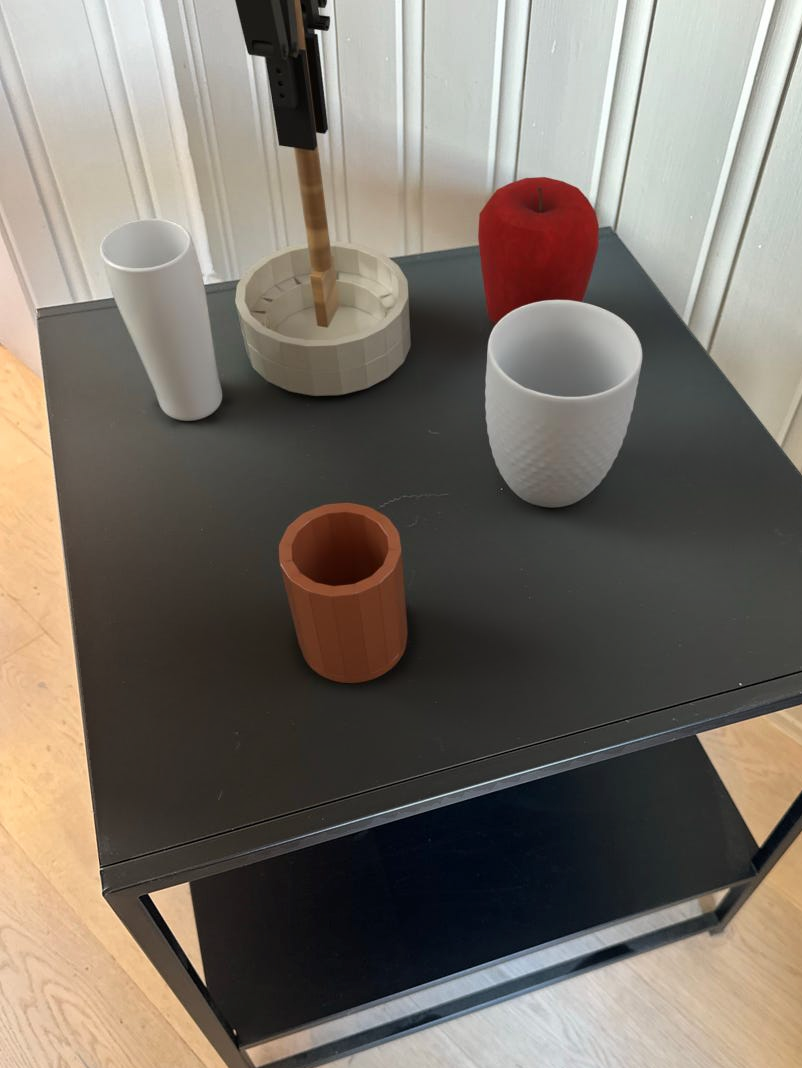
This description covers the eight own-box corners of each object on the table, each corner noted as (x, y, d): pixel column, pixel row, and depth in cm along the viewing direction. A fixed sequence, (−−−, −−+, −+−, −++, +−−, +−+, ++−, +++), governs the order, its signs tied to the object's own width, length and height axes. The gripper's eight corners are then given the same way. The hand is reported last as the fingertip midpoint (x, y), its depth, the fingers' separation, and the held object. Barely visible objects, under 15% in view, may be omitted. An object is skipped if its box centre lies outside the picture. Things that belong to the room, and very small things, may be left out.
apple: (570, 373, 85) (587, 232, 73) (461, 348, 86) (462, 207, 75) (598, 304, 90) (618, 164, 79) (496, 282, 92) (501, 142, 81)
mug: (457, 412, 81) (458, 277, 71) (579, 393, 83) (598, 259, 72) (501, 540, 73) (510, 410, 62) (636, 517, 75) (666, 386, 64)
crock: (285, 670, 66) (260, 581, 58) (321, 587, 70) (303, 493, 62) (389, 693, 65) (380, 606, 57) (419, 607, 69) (414, 515, 61)
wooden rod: (332, 329, 82) (285, -30, 60) (312, 325, 82) (258, -33, 60) (344, 306, 84) (302, -49, 62) (324, 303, 84) (276, -53, 62)
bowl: (223, 386, 83) (208, 328, 78) (282, 288, 91) (272, 230, 86) (383, 416, 81) (379, 358, 76) (429, 313, 89) (427, 255, 84)
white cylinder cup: (218, 435, 79) (174, 275, 67) (140, 424, 80) (82, 265, 67) (242, 382, 83) (205, 222, 71) (168, 372, 83) (118, 212, 71)
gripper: (260, -261, 46) (319, 198, 66) (354, -330, 54) (381, 96, 74) (118, -274, 47) (217, 182, 67) (231, -340, 55) (290, 83, 75)
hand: (303, 136), depth 70 cm, fingers closed on wooden rod, 2 cm apart
